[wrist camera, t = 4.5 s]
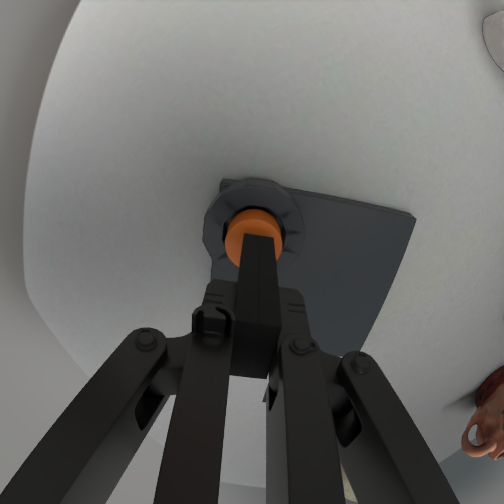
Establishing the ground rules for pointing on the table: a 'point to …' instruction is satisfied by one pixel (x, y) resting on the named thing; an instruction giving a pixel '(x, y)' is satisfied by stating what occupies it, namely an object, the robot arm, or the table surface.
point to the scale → (319, 254)
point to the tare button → (251, 231)
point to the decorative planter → (488, 419)
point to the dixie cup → (495, 36)
